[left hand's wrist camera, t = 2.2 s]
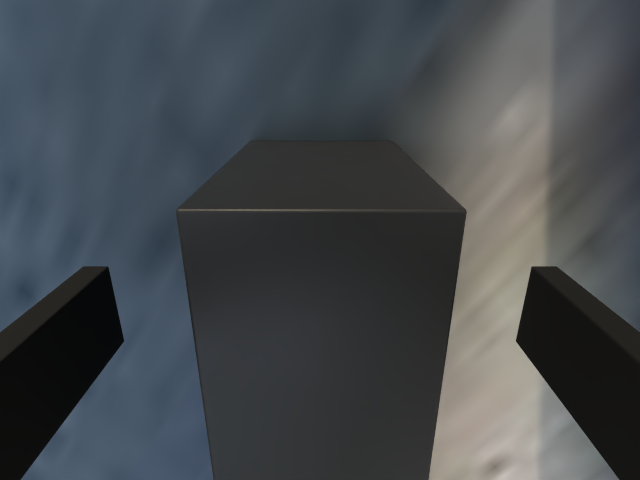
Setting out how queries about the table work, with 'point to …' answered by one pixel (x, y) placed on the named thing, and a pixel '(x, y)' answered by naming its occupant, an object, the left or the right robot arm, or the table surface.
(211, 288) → the bar
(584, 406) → the left robot arm
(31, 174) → the table surface
